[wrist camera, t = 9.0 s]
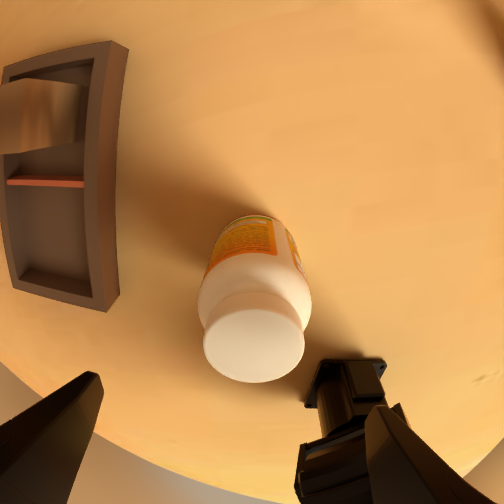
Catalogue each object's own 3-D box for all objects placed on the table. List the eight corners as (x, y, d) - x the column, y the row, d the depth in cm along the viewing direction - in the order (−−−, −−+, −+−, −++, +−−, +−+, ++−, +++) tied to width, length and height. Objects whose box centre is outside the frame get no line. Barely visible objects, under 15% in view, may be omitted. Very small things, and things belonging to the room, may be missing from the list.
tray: (119, 294, 22) (106, 312, 19) (29, 274, 21) (13, 287, 19) (128, 49, 15) (111, 40, 12) (24, 69, 14) (3, 67, 12)
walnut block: (77, 142, 16) (19, 152, 11) (37, 144, 16) (-20, 156, 11) (82, 85, 15) (25, 78, 9) (41, 92, 15) (-16, 91, 9)
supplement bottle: (201, 262, 20) (162, 360, 11) (242, 197, 19) (228, 262, 10) (266, 300, 21) (270, 407, 12) (311, 241, 20) (351, 333, 11)
